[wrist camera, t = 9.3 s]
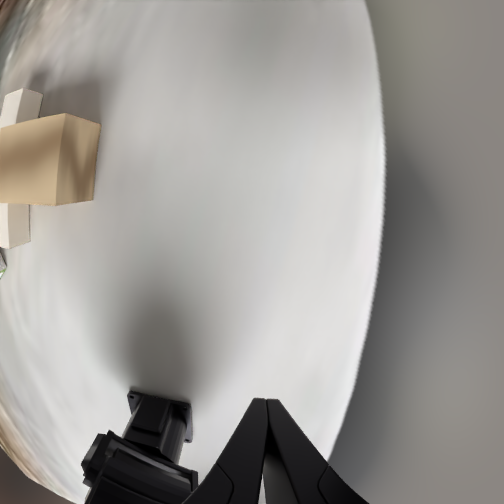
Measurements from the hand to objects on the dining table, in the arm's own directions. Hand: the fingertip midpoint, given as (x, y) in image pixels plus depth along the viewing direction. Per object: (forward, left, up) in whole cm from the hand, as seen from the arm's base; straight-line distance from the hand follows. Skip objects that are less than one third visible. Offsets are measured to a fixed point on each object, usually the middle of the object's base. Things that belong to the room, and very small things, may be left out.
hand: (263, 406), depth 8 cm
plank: (+8, +23, -12) cm, 27 cm away
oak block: (+8, +18, -12) cm, 23 cm away
